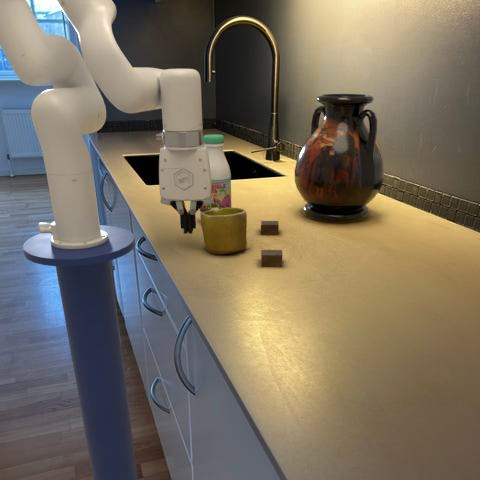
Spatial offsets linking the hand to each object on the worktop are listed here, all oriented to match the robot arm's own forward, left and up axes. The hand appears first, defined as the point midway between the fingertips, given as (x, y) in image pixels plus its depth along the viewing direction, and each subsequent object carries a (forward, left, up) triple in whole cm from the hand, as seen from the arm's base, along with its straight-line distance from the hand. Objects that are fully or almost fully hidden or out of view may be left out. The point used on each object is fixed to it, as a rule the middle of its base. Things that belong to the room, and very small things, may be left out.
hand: (188, 231), depth 107 cm
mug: (+7, 0, -3) cm, 8 cm away
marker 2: (+17, -10, -3) cm, 20 cm away
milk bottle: (+4, +19, -3) cm, 20 cm away
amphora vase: (+34, +25, -3) cm, 42 cm away
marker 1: (+17, +10, -3) cm, 20 cm away
